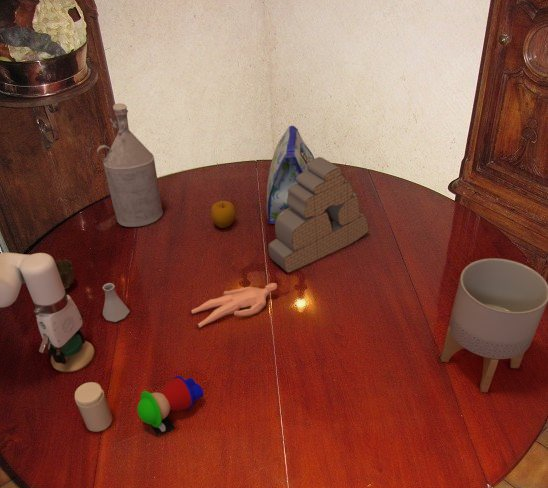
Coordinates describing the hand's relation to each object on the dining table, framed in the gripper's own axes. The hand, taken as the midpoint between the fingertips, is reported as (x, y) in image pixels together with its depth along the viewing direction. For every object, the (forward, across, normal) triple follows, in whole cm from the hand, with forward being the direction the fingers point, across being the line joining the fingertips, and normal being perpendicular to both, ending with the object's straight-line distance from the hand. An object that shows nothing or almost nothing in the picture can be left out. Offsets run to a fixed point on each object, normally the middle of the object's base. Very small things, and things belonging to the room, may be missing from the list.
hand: (70, 351), depth 145 cm
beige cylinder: (+2, -14, -19) cm, 24 cm away
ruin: (+1, +68, -44) cm, 81 cm away
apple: (+2, +68, -10) cm, 69 cm away
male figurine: (+2, +32, -32) cm, 46 cm away
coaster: (+2, 0, 0) cm, 2 cm away
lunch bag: (+1, +86, -28) cm, 91 cm away
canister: (+2, +62, +20) cm, 66 cm away
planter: (+1, +36, -98) cm, 105 cm away
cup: (+2, +22, +20) cm, 30 cm away
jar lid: (-3, 0, 0) cm, 3 cm away
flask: (+2, +18, -1) cm, 18 cm away
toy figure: (+2, -6, -34) cm, 34 cm away
